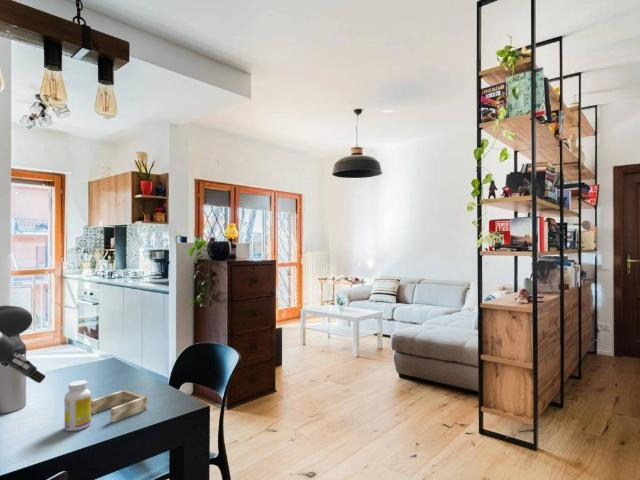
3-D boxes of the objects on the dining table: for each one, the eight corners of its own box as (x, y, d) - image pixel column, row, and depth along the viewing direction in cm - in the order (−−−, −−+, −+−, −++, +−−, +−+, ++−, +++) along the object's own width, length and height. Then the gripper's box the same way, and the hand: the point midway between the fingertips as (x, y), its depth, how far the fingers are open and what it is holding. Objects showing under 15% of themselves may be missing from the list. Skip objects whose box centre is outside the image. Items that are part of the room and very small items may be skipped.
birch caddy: (113, 422, 121) (113, 409, 121) (90, 413, 128) (90, 400, 128) (146, 409, 130) (146, 397, 130) (124, 401, 137) (124, 389, 137)
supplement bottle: (95, 421, 122) (95, 378, 122) (83, 431, 115) (83, 386, 115) (72, 421, 122) (72, 379, 122) (59, 432, 115) (59, 387, 115)
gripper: (-37, 353, 101) (19, 387, 111) (-17, 361, 94) (42, 397, 104) (-11, 328, 106) (41, 363, 116) (10, 334, 99) (64, 371, 109)
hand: (41, 379), depth 110 cm, fingers closed
